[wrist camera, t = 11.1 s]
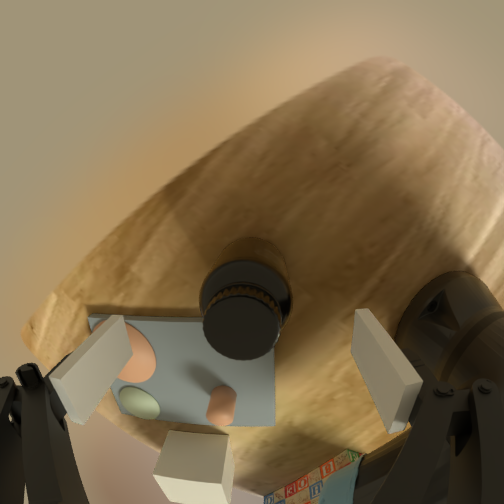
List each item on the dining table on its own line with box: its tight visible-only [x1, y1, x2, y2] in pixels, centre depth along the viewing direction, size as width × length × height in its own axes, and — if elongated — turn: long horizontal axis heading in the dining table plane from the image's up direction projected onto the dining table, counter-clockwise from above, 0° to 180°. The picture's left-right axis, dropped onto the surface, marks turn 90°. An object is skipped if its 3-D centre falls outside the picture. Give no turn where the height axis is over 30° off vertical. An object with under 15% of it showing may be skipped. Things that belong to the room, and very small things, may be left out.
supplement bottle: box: [199, 237, 293, 361], centre depth 22 cm, size 7×7×12 cm
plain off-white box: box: [153, 430, 235, 504], centre depth 30 cm, size 9×9×9 cm
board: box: [88, 313, 275, 426], centre depth 29 cm, size 22×16×5 cm
